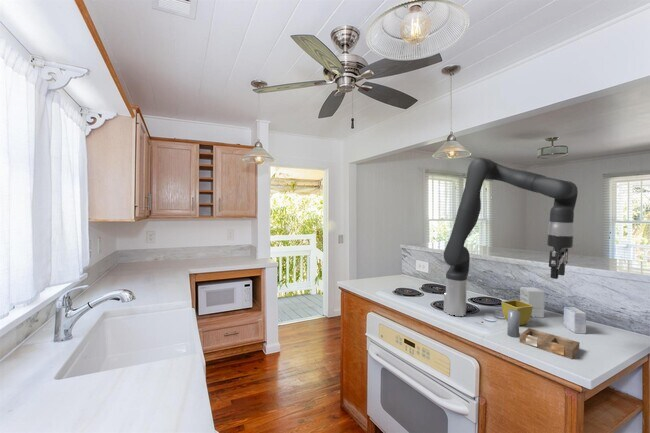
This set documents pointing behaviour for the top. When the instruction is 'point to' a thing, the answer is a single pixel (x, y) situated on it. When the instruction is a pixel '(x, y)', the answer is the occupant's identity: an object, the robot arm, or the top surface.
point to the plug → (513, 323)
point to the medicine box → (575, 320)
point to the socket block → (550, 343)
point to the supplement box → (533, 299)
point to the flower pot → (519, 306)
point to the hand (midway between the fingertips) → (557, 276)
